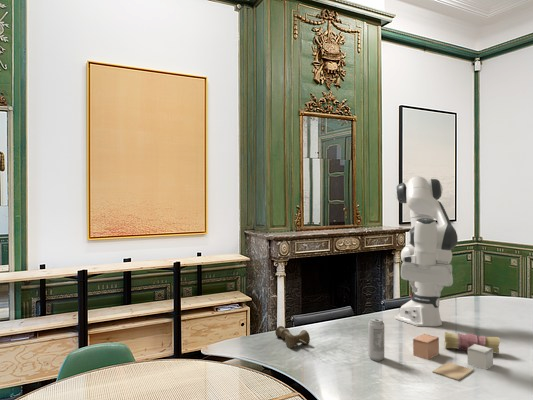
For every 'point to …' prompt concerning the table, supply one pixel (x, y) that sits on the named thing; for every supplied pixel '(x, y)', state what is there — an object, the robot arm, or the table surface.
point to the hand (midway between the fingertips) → (425, 294)
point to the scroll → (470, 341)
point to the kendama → (292, 337)
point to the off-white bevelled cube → (480, 356)
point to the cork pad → (453, 371)
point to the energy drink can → (376, 339)
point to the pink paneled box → (426, 346)
